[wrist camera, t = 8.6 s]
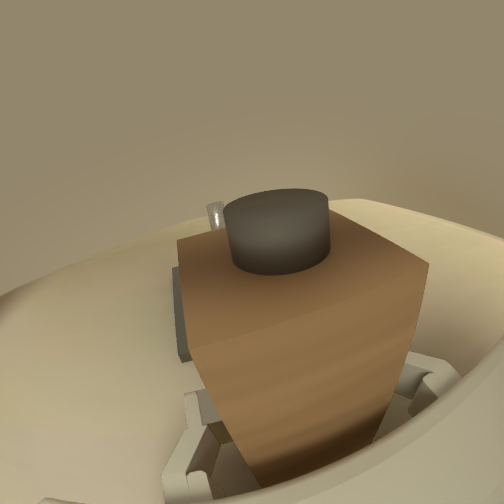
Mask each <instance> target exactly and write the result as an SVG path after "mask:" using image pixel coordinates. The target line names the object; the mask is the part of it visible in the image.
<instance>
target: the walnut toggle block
mask: <svg viewBox="0 0 504 504" xmlns="http://www.w3.org/2000/svg"><path fill="white" fill-rule="evenodd" d="M223 216H224V221H225V226H226V228H222V229H218V230H214V231H210V232H206V233H202V234H198V235H195V236H191V237H187V238H183V239H179V240H177V248H178V261H179V273H180V284H181V294H182V303H183V312H184V320H185V328H186V336H187V343H188V350H189V352H190V354H191V357H192V359H193V361H194V363H195V366H196V368H197V370H198V372H199V374H200V377H201V379H202V381H203V383H204V385H205V387H206V389H207V391H208V393H209V395H210V397H211V399H212V401H213V403H214V405H215V407H216V409H217V411H218V413H219V415H220V417H221V419H222V421H223V423H224V424H225V426H226V428H227V430H228V432H229V434H230V435H231V437H232V439H233V441H234V443H235V444H236V446H237V448H238V450H239V451H240V453H241V455H242V456H243V458H244V460H245V461H246V463H247V465H248V466H249V468H250V470H251V471H252V473H253V475H254V476H255V478H256V479H257V481H258V482H259V484H260V485H261V487H262V489H263V488H266V487H269V486H273V485H276V484H279V483H282V482H285V481H288V480H291V479H294V478H297V477H299V476H302V475H305V474H307V473H310V472H312V471H315V470H317V469H320V468H322V467H324V466H327V465H329V464H331V463H333V462H336V461H338V460H340V459H342V458H344V457H346V456H348V455H350V454H352V453H354V452H356V451H358V450H360V449H362V448H364V447H366V446H367V445H369V444H371V442H372V440H373V438H374V436H375V434H376V432H377V430H378V428H379V426H380V423H381V421H382V419H383V417H384V415H385V412H386V410H387V408H388V406H389V403H390V401H391V398H392V396H393V393H394V391H395V388H396V386H397V383H398V380H399V378H400V375H401V372H402V369H403V367H404V364H405V361H406V358H407V354H408V351H409V348H410V345H411V342H412V338H413V335H414V331H415V327H416V324H417V320H418V316H419V312H420V308H421V303H422V299H423V294H424V289H425V284H426V279H427V274H428V268H429V263H427V262H426V261H424V260H422V259H421V258H419V257H417V256H415V255H414V254H412V253H410V252H409V251H407V250H405V249H403V248H402V247H400V246H398V245H396V244H394V243H393V242H391V241H389V240H387V239H385V238H384V237H382V236H380V235H378V234H376V233H374V232H372V231H371V230H369V229H367V228H365V227H363V226H361V225H359V224H357V223H355V222H353V221H351V220H349V219H348V218H346V217H344V216H342V215H340V214H338V213H336V212H334V211H332V210H329V207H328V197H327V196H326V195H325V194H323V193H321V192H318V191H314V190H309V189H279V190H270V191H264V192H259V193H255V194H251V195H248V196H245V197H241V198H239V199H237V200H234V201H232V202H231V203H229V204H227V205H226V206H225V207H224V209H223Z"/></svg>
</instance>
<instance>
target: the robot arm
mask: <svg viewBox="0 0 504 504" xmlns="http://www.w3.org/2000/svg"><path fill="white" fill-rule="evenodd" d="M394 392H395V393H398V394H400V395H402V396H405V397H407V398H409V399H412V402H411V404H410V406H409V408H408V412H409V414H410V415H411V416H412V417H413V418H411V419H410V420H408V421H407V422H405V423H404V424H402V425H401V426H399V427H398V428H396V429H395V430H393V431H391V432H390V433H388V434H386V435H385V436H383V437H381V438H380V439H378V440H376V441H375V442H373V443H371V444H369V445H367V446H366V447H364V448H362V449H360V450H358V451H356V452H354V453H352V454H350V455H348V456H346V457H344V458H342V459H340V460H338V461H336V462H333V463H331V464H329V465H327V466H324V467H322V468H320V469H317V470H315V471H312V472H310V473H307V474H305V475H302V476H299V477H297V478H294V479H291V480H288V481H285V482H282V483H279V484H276V485H273V486H269V487H266V488H263V489H259V490H255V491H252V492H248V493H244V494H239V495H235V496H230V497H226V495H225V492H224V489H223V488H222V487H221V486H220V485H219V484H218V483H216V482H215V481H214V480H213V479H212V478H211V477H210V476H211V473H212V470H213V467H214V465H215V462H216V459H217V456H218V453H219V450H220V447H221V444H225V443H229V442H232V441H233V439H232V437H231V435H230V434H229V432H228V430H227V428H226V426H225V424H224V423H223V421H222V419H221V417H220V415H219V413H218V411H217V409H216V407H215V405H214V403H213V401H212V399H211V397H210V395H209V393H208V391H207V389H203V390H199V391H194V392H190V393H185V394H184V403H185V409H186V416H187V422H188V428H189V429H185V430H184V432H183V434H182V436H181V438H180V440H179V442H178V444H177V446H176V448H175V450H174V451H173V453H172V455H171V457H170V459H169V461H168V463H167V465H166V466H165V468H164V470H163V472H162V474H161V480H162V487H163V493H164V499H165V504H504V336H503V337H502V338H501V339H500V341H499V342H498V343H497V344H496V345H495V346H494V347H493V348H492V349H491V350H490V352H489V353H488V354H487V355H486V356H485V357H484V358H483V359H482V360H481V361H480V362H479V363H478V364H477V365H476V366H475V367H474V368H473V369H472V370H471V371H470V372H468V373H467V374H466V375H465V376H464V377H463V376H461V375H460V374H459V373H458V372H457V371H456V370H455V369H454V368H453V367H452V366H451V365H450V364H449V363H448V362H447V361H446V360H442V359H438V358H435V357H431V356H427V355H423V354H419V353H415V352H412V351H408V354H407V358H406V361H405V364H404V367H403V369H402V372H401V375H400V378H399V380H398V383H397V386H396V388H395V391H394ZM38 504H84V503H76V502H70V501H64V500H59V499H54V498H43V499H42V500H41V501H40V502H39V503H38Z"/></svg>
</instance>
